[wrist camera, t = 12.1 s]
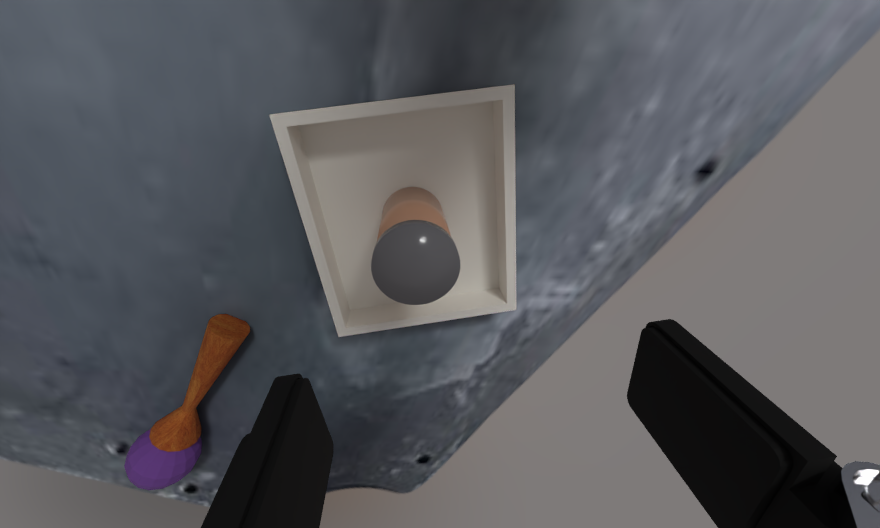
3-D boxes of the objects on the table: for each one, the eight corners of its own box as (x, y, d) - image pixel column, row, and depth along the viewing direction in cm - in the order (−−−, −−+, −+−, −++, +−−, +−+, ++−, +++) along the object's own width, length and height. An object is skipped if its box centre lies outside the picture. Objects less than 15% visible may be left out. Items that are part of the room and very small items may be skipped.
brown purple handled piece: (260, 357, 29) (179, 504, 34) (269, 316, 34) (197, 449, 39) (178, 339, 26) (103, 502, 31) (201, 297, 31) (133, 443, 36)
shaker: (374, 190, 26) (362, 233, 18) (440, 181, 26) (456, 219, 18) (387, 249, 29) (380, 310, 21) (447, 241, 29) (463, 298, 21)
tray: (286, 112, 24) (269, 114, 21) (500, 85, 25) (514, 84, 22) (344, 313, 32) (338, 337, 29) (505, 289, 33) (516, 309, 30)
